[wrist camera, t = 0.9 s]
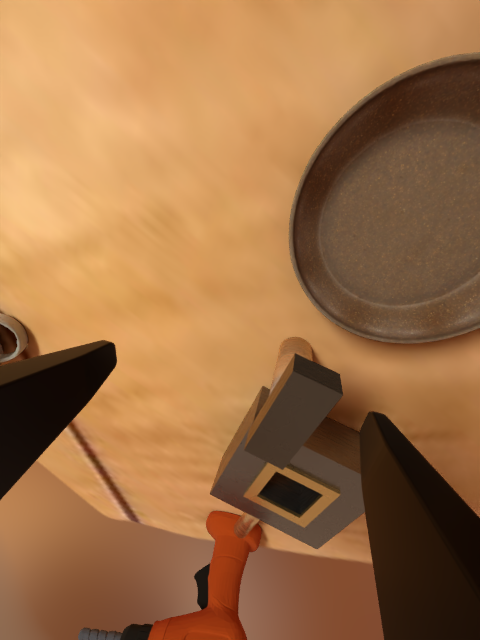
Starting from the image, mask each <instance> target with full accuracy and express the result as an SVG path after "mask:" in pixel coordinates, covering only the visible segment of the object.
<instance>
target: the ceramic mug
mask: <svg viewBox="0 0 480 640" xmlns="http://www.w3.org/2000/svg"><path fill="white" fill-rule="evenodd" d="M0 324H1V325H3V326H5V327H7V328H8V329H10V330H11V331H12V332H13V333H14V334H15V335H16V338H17V348H16V351H15V352H12V353H9V354H4V353H3V349H2V346H1V344H0V365H1V364H2V362H6V361H9V360H11V359H13V358H15V357H16V356H18V355H19V354H20V353H21V352H22V351H23V350H24V349H25V348H26V346H27V342H28V337H27V334H26V331H25V329H24V327H23V326H22V325H21V324H20V323H19V322H18V321H17V320H15V319H14V318H12V317H10V316H7V315H5V314H1V313H0Z"/></svg>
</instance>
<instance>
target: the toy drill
mask: <svg viewBox="0 0 480 640" xmlns="http://www.w3.org/2000/svg"><path fill="white" fill-rule="evenodd" d="M240 517H241V516H239V515H235V514H232V513H227V512H222V511H213V512H211V513H210V514H209V516H208V518H207V521H206V527H207V530H208V532H209V534H211V536H212V537H213V538H214V539H215V540H216V541H215V547H214V552H213V557H212V560H211V563H210V564H208V565H207V566H205V567H204V568H202V569H201V570H199V571H198V572H197V573H196V574H195V576H194V578H195V580H196V582H197V587H198V599H197V603H198V605H199V606H200V608H201V609H202V610H201V611H197V612H193V613H190V614H186V615H181V616H176V617H171V618H168V619H165V620H162V621H156V622H155V623H154V625H151V624H144V625H138V624H131V625H130V626H128V627H126V628H125V629H124V631H123V633H120V632H116V631H109V632H107V631H104V630H101V631H99V630H98V629H92V630H91V629H90V628H83V629H82V630H81V631H80V633H79V636H78V638H79V640H247V637H246V634H245V631H244V629H243V627H242V624H241V622H240V620H239V617H238V602H239V591H240V584H241V578H242V574H243V570H244V567H245V564H246V561H247V558H248V554H249V552H253V551H256V550H257V548H258V546H259V543H260V539H261V528H260V526H259V525H258V524H256V525H255V526H254V527H253V529H252V530H251V531H250V532H249V533H248V534H247V535H246V537H244V538H238V537H237V536H236V534H235V532H234V525H235V523H236V522H237V520H238V519H239V518H240Z"/></svg>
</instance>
